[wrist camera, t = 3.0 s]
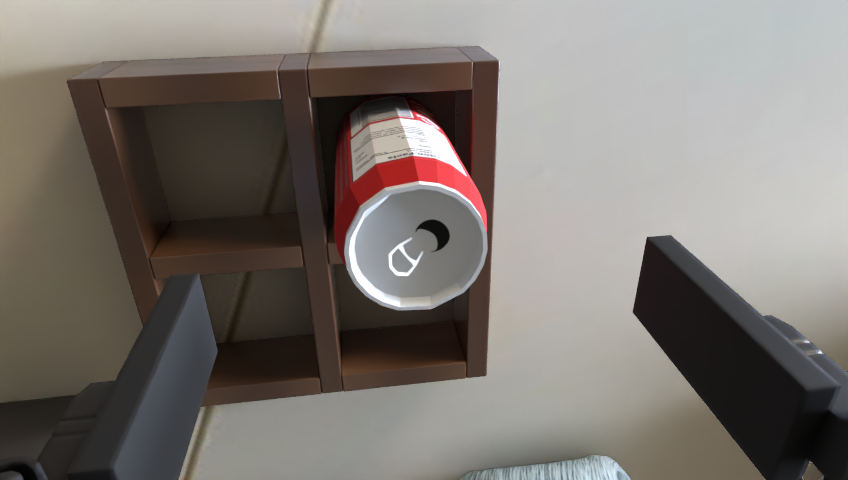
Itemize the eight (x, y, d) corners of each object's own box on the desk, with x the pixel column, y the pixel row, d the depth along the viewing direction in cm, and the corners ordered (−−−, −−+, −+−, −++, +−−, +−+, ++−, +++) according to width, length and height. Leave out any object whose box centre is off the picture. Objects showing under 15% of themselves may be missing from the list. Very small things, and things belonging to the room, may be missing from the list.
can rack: (186, 362, 34) (168, 410, 30) (102, 61, 26) (65, 79, 22) (472, 334, 36) (486, 376, 32) (479, 45, 28) (500, 60, 24)
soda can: (378, 211, 31) (399, 348, 20) (313, 134, 28) (298, 245, 18) (461, 152, 30) (527, 264, 19) (400, 67, 27) (440, 143, 17)
